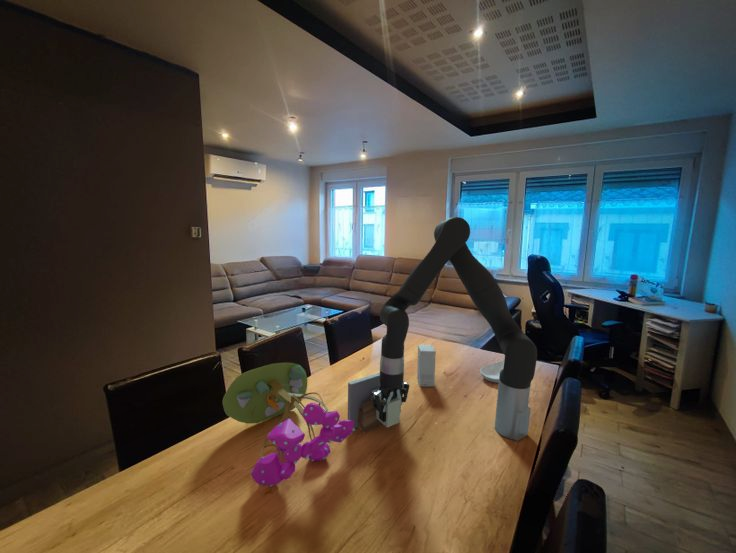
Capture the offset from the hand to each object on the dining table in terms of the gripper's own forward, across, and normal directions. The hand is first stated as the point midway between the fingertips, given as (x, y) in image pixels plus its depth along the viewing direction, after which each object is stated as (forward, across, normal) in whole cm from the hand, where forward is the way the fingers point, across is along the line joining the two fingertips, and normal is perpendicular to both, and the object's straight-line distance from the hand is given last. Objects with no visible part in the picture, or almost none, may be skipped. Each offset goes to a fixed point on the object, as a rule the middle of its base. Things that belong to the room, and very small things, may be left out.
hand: (389, 417), depth 102 cm
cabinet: (+1, 0, +3) cm, 3 cm away
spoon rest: (+6, +68, +3) cm, 68 cm away
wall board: (+5, 0, +9) cm, 10 cm away
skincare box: (+5, +34, +18) cm, 39 cm away
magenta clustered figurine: (+6, -30, +10) cm, 32 cm away
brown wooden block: (+5, 0, +6) cm, 8 cm away
